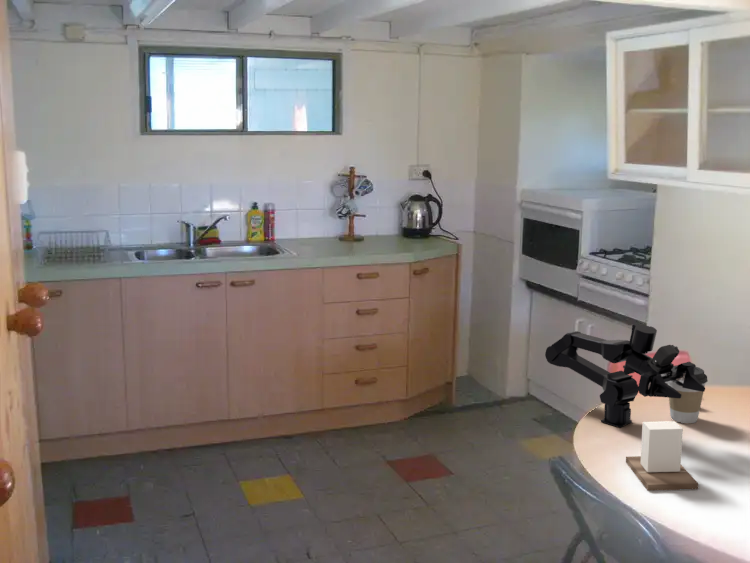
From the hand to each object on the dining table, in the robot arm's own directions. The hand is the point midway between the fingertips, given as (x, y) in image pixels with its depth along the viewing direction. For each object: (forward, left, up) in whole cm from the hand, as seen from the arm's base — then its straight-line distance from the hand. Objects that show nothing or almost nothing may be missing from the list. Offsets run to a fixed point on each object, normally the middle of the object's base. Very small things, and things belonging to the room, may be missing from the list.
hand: (692, 393), depth 209 cm
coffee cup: (-13, +20, -16) cm, 29 cm away
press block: (+2, -18, -14) cm, 23 cm away
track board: (+2, -18, -16) cm, 24 cm away
